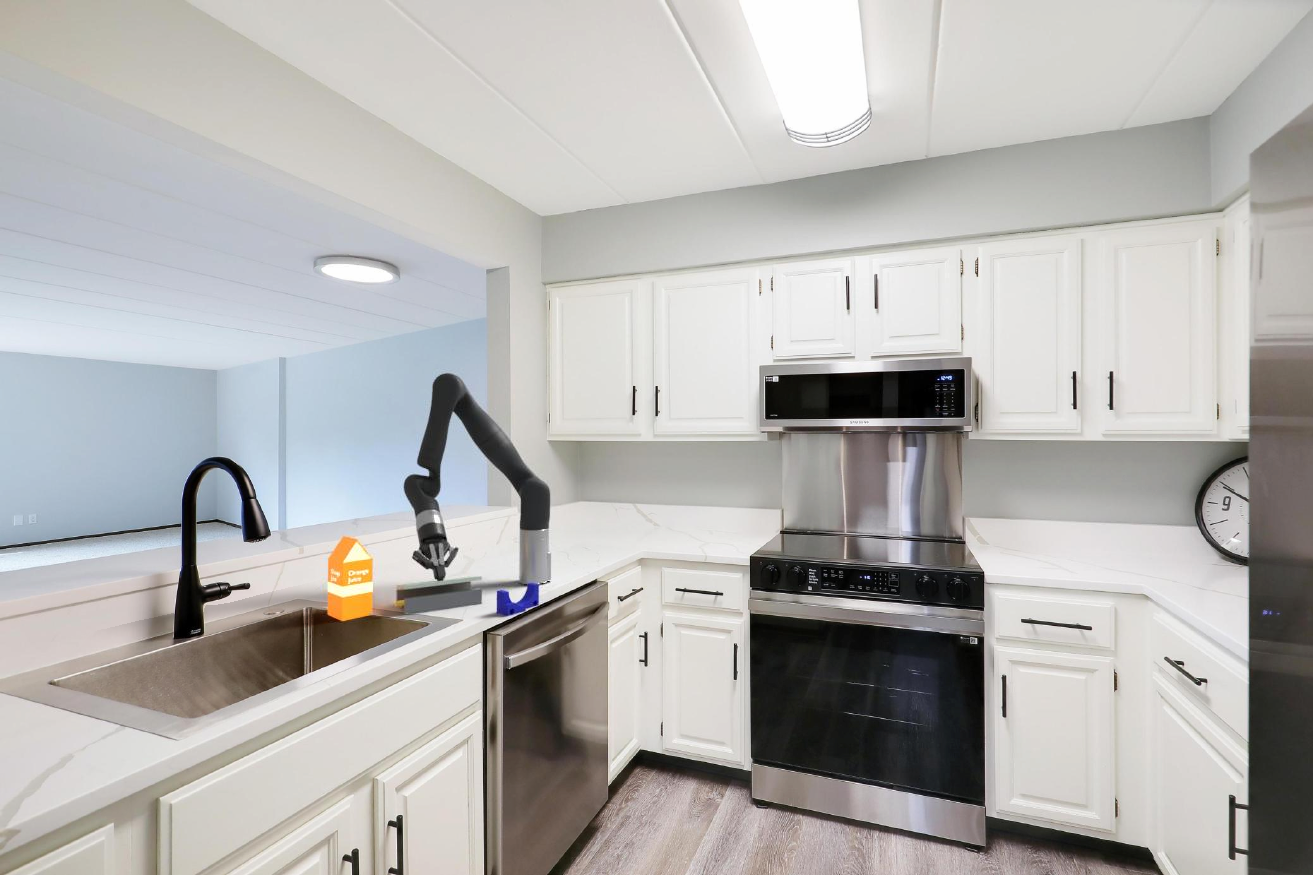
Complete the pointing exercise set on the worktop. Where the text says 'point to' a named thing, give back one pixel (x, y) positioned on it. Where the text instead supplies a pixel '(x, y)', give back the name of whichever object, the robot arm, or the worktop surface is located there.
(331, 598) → the orange juice
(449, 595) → the cable duct
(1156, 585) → the worktop surface
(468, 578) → the pale green flat panel
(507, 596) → the blue u-shaped block
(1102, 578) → the worktop surface
